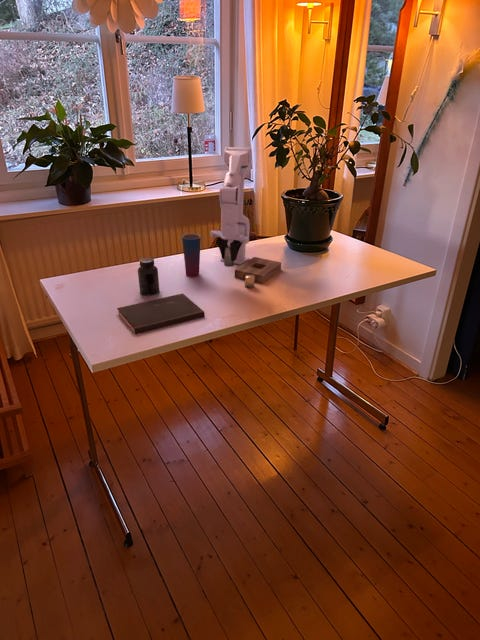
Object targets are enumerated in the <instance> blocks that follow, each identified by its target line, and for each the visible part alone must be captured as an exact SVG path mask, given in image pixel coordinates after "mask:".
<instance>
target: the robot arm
mask: <svg viewBox="0 0 480 640" xmlns="http://www.w3.org/2000/svg"><path fill="white" fill-rule="evenodd" d="M252 153H253V152H252V148H251V147H250V146H249V147H235V146H233V147H232V146H226V147H225V148H224V151H223V162H224V164H225V167H226V169H227V170H228V171H227V172H226V173H225V175H224V179H223V184H222V187H219V196H218V197H219V207H220V208H219V209H220V215H221V216H220V222H221V223H220V230H215V229H214V230H211V231H210V232H209V233H210V234H209V235H210V236H209V237H210V238H216V240H215V244H216V245H217V247H218V249H219V251H220V257H221V258H220V261H222V262H224V246H225V245H230V246H231V251H232V261H234V264H236V265H242V264H244V263H245V262H247V261H248V260H250V257H249V256H246V245H247V244H248V243H249V242H250V230H251V229H250V228H251V227H250V219H249V218H248V217H247V216H246V215H245V214H244V195H245V193H244V192H245V176H246V172H248V171H250V170H251V167H252V156H253V154H252Z"/></svg>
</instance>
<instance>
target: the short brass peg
mask: <svg viewBox="0 0 480 640" xmlns="http://www.w3.org/2000/svg"><path fill="white" fill-rule="evenodd" d="M254 279H255V276H254V275H246V276H245V279H244V288H246V289H248V290H249V289H255V282H254Z"/></svg>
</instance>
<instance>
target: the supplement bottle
mask: <svg viewBox="0 0 480 640" xmlns="http://www.w3.org/2000/svg"><path fill="white" fill-rule="evenodd" d="M137 277H138V278H137V279H138V287H139V292H140V294H141V295H143V296H154V295H157V294H158V293H159V292H160V281H159V279H160V278H159V270H158V267H157V266H156V265H155V259H154V258H153V257H142V258H140V259H139V267H138V268H137Z"/></svg>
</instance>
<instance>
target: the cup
mask: <svg viewBox="0 0 480 640" xmlns="http://www.w3.org/2000/svg"><path fill="white" fill-rule="evenodd" d="M181 240H182V249H183V259H184V269H185V276H187V277H189V278H195V277H198V276H200V264H201V262H200V261H201V260H200V258H201V235H200V234H198V233H185V234H183V235H182V236H181Z"/></svg>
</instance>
